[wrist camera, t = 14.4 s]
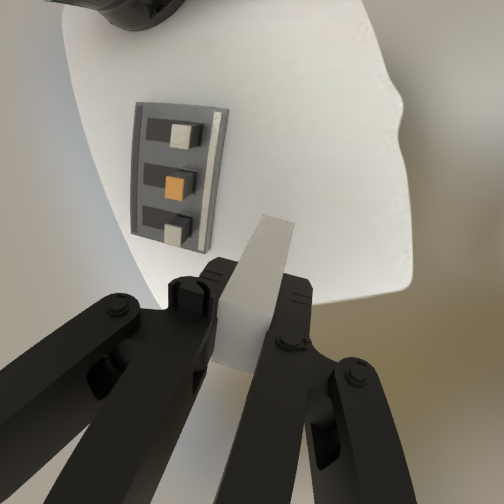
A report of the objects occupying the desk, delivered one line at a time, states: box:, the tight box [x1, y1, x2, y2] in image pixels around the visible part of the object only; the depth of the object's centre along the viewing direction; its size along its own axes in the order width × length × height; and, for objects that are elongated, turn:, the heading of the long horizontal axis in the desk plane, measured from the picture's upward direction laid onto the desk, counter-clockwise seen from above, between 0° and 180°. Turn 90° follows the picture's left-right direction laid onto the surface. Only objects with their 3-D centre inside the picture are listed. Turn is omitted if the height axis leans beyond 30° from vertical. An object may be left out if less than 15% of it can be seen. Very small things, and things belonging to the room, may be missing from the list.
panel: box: [130, 102, 229, 254], centre depth 39 cm, size 22×14×6 cm, turn 170°
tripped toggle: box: [165, 170, 194, 201], centre depth 37 cm, size 3×2×4 cm
